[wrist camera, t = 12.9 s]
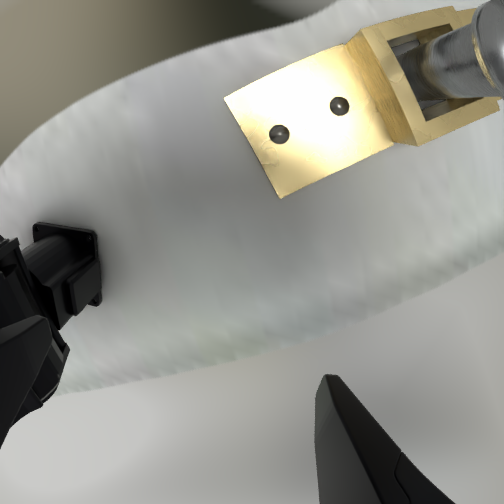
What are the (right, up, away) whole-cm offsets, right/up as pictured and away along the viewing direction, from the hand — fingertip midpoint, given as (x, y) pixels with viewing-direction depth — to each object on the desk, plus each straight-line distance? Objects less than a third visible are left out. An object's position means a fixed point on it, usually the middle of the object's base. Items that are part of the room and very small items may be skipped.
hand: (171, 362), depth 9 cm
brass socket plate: (+12, +14, +7) cm, 20 cm away
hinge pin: (+12, +14, +7) cm, 20 cm away
